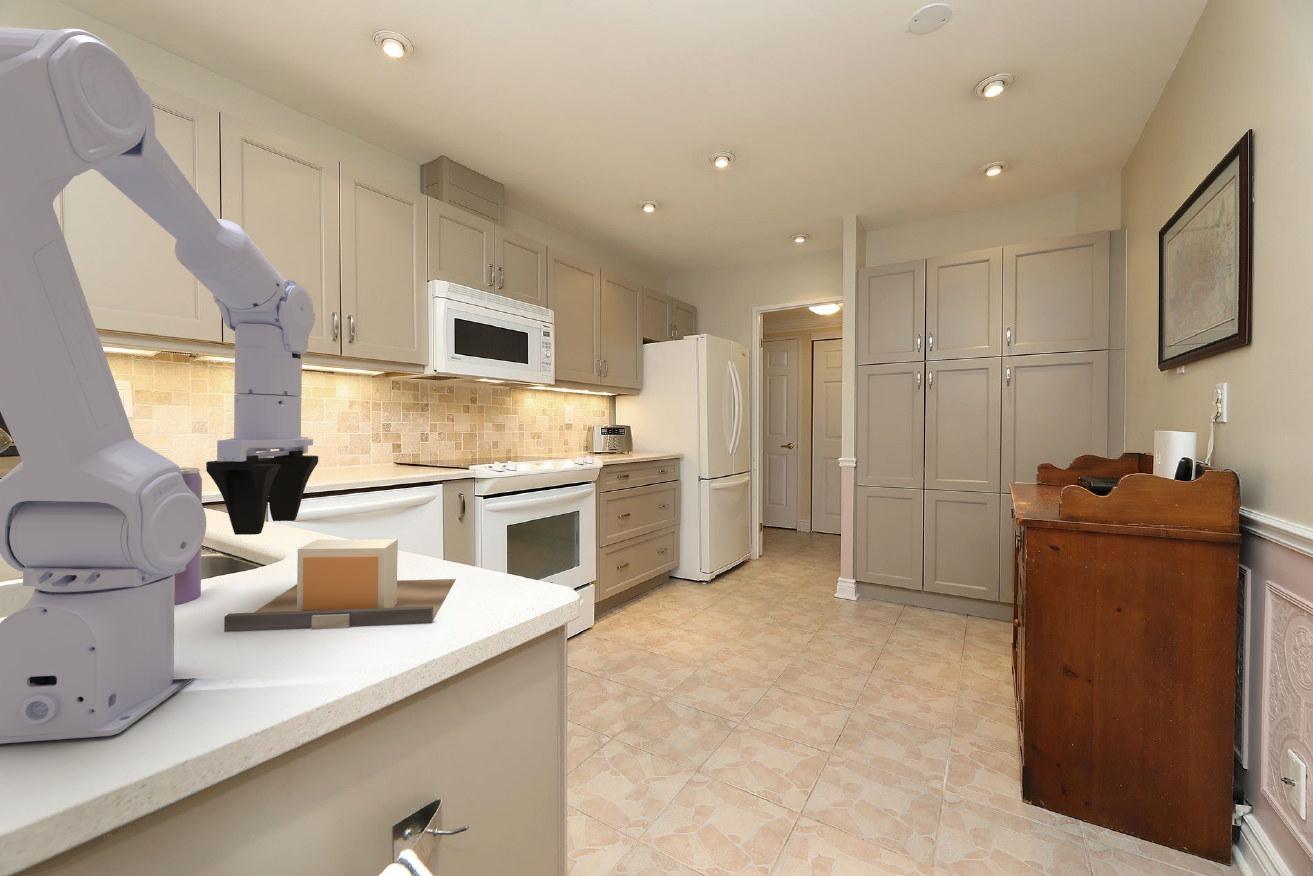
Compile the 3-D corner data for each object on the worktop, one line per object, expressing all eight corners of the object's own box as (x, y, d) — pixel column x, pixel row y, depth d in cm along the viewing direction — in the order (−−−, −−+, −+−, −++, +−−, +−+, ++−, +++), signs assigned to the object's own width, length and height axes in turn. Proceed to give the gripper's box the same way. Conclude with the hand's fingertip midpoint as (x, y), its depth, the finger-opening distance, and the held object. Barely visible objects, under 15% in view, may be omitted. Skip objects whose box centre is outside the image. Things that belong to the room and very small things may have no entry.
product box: (383, 618, 56) (384, 548, 56) (295, 620, 55) (296, 549, 55) (396, 603, 61) (397, 539, 61) (316, 605, 60) (317, 539, 59)
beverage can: (214, 601, 63) (216, 468, 63) (163, 619, 57) (164, 472, 57) (166, 598, 64) (167, 466, 63) (110, 616, 58) (111, 470, 57)
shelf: (430, 634, 55) (431, 609, 55) (222, 643, 51) (222, 617, 51) (455, 586, 71) (456, 567, 71) (298, 591, 67) (298, 571, 67)
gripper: (278, 393, 52) (276, 540, 52) (336, 400, 66) (335, 515, 66) (191, 390, 50) (190, 541, 51) (270, 398, 65) (268, 515, 65)
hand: (267, 527), depth 58 cm, fingers open, 7 cm apart
